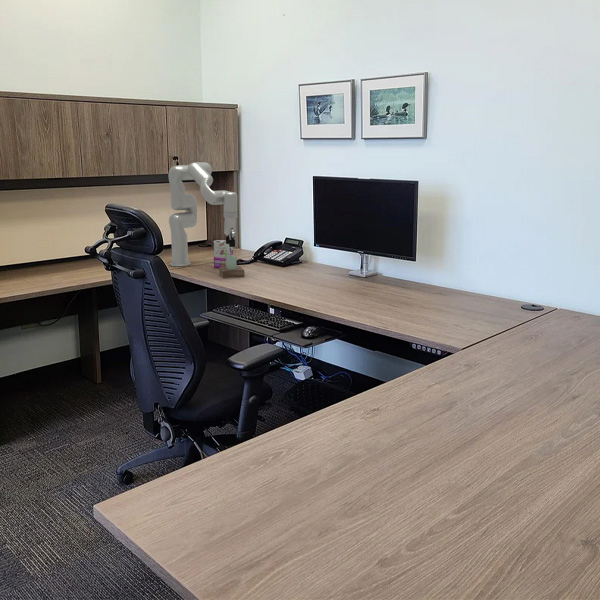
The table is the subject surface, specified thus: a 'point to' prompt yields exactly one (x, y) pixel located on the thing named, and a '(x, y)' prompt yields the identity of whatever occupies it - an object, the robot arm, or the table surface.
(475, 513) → the table surface
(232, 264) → the sage block
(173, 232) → the robot arm
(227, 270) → the walnut block
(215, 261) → the candy bar box
